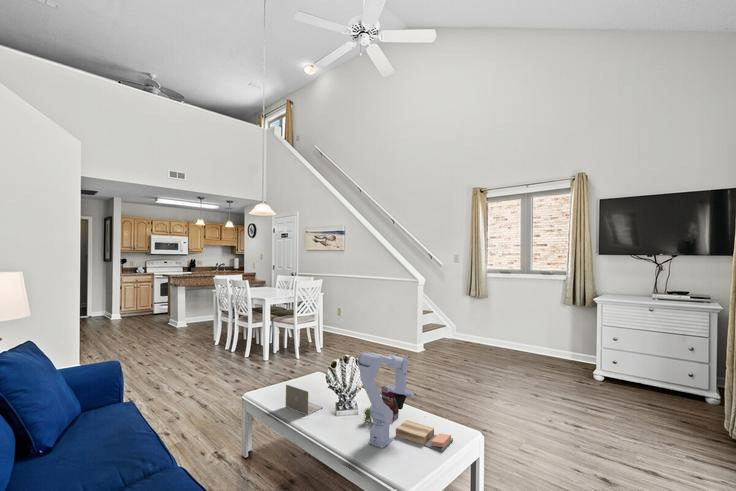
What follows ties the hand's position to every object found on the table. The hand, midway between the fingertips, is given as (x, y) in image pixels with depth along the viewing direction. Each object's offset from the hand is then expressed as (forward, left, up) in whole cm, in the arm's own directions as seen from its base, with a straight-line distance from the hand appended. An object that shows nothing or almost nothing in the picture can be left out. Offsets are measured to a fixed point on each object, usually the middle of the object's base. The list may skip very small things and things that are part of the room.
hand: (400, 408), depth 185 cm
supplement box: (+9, +12, -11) cm, 18 cm away
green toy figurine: (-3, +18, -11) cm, 21 cm away
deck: (-1, -9, -10) cm, 14 cm away
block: (-1, -22, -8) cm, 24 cm away
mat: (-1, -21, -10) cm, 24 cm away
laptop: (-9, +58, -11) cm, 59 cm away
